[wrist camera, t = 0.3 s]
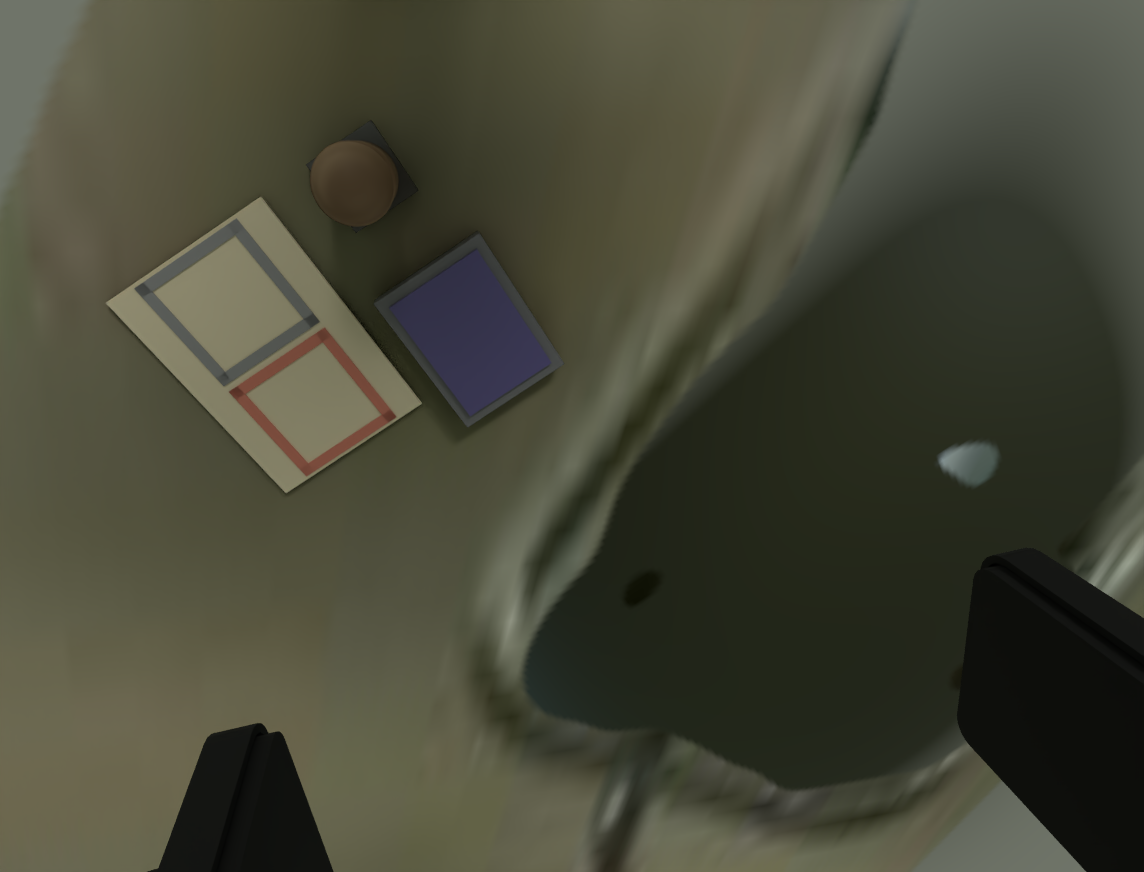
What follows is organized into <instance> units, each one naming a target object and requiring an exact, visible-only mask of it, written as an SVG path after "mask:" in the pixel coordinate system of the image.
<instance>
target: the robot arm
mask: <svg viewBox="0 0 1144 872" xmlns="http://www.w3.org/2000/svg"><path fill="white" fill-rule="evenodd" d="M957 720H958V725H959V728H960V730H961V733H962V735H963V736H964V738H965V740H966V741H967V743H968V744H969V745H970V746H971V747H972V748H973V749H974V751H975V752H976V753H977V754H978V755H979V756H980V757H981V758H982V759H983V760H984V761H985V762H986V764H987V765H988V766H989V767H990V768H991V769H992V770H993V771H994V772H995V773H996V774H997V775H998V777H999V778H1000V779H1001V780H1002V781H1003V782H1004V783H1005V784H1006V785H1007V786H1008V787H1009V788H1010V789H1011V790H1012V792H1013V793H1014V794H1015V795H1016V796H1017V797H1018V798H1019V799H1020V800H1021V801H1022V802H1023V804H1024V805H1025V806H1026V807H1027V808H1028V809H1029V810H1030V811H1031V812H1032V813H1033V814H1034V816H1035V817H1036V818H1037V819H1038V820H1039V821H1040V822H1041V823H1042V824H1043V825H1044V826H1045V827H1046V829H1047V830H1049V832H1050V833H1051V834H1052V835H1053V836H1054V837H1055V838H1056V839H1057V840H1058V841H1059V843H1060V844H1061V845H1062V846H1063V847H1064V848H1065V849H1066V850H1067V851H1068V852H1069V853H1070V854H1071V856H1072V857H1073V858H1074V859H1075V860H1076V861H1077V862H1078V863H1079V864H1080V865H1081V866H1082V868H1083V869H1084V870H1085V871H1086V872H1144V618H1142V617H1141V616H1139V615H1138V614H1136V613H1135V612H1133V611H1132V610H1130V609H1129V608H1127V607H1125V606H1124V605H1122V604H1121V603H1119V602H1118V601H1116V600H1115V599H1113V598H1112V597H1110V596H1108V595H1107V594H1105V593H1104V592H1102V591H1101V590H1099V589H1098V588H1096V587H1095V586H1093V585H1091V584H1090V583H1088V582H1087V581H1085V580H1084V579H1082V578H1081V577H1079V576H1078V575H1076V574H1074V573H1073V572H1071V571H1070V570H1068V569H1067V568H1065V567H1063V566H1062V565H1060V564H1059V563H1057V562H1056V561H1054V560H1053V559H1051V558H1050V557H1048V556H1047V555H1045V554H1043V553H1042V552H1040V551H1038V550H1036V549H1034V548H1023V549H1018V550H1014V551H1010V552H1005V553H1001V554H996V555H992V556H990V557H987V558H986V559H985V560H984V561H983V563H982V566H981V569H980V570H978V571H977V572H976V573H975V576H974V579H973V587H972V595H971V604H970V612H969V621H968V629H967V637H966V646H965V654H964V662H963V671H962V679H961V687H960V696H959V704H958V712H957ZM148 872H333V869H332V866H331V864H330V861H329V858H328V855H327V853H326V850H325V847H324V845H323V842H322V839H321V836H320V834H319V831H318V828H317V825H316V823H315V820H314V817H313V815H312V812H311V809H310V806H309V804H308V801H307V798H306V796H305V793H304V790H303V787H302V785H301V782H300V779H299V776H298V774H297V771H296V768H295V766H294V763H293V760H292V757H291V755H290V752H289V749H288V746H287V744H286V741H285V739H284V736H283V734H282V733H281V732H273V733H269V734H268V732H267V730H266V728H265V726H264V725H263V724H262V723H257V724H252V725H248V726H244V727H239V728H235V729H230V730H226V731H222V732H217V733H213V734H211V735H210V736H209V737H207V739H206V741H205V743H204V746H203V748H202V751H201V754H200V756H199V759H198V762H197V765H196V767H195V770H194V773H193V776H192V778H191V781H190V784H189V786H188V789H187V792H186V795H185V797H184V800H183V803H182V805H181V808H180V811H179V814H178V816H177V819H176V822H175V825H174V827H173V830H172V833H171V835H170V838H169V841H168V844H167V846H166V849H165V852H164V855H163V857H162V860H161V863H160V865H159V868H158V869H154V870H151V871H148Z"/></svg>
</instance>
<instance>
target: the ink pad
mask: <svg viewBox="0 0 1144 872" xmlns="http://www.w3.org/2000/svg"><path fill="white" fill-rule="evenodd" d="M374 305H375V306H376V308H377V309H378V310H379V312H380V313H381V314H382V316H383V317H384V318H385V320H386V321H387V322H388V324H389V325H390V326H391V328H392V329H393V330H394V332H395V333H396V334H397V335H398V337H399V338H400V339H401V341H402V342H403V343H404V345H405V346H406V347H407V349H408V350H409V351H410V353H411V354H412V355H413V357H414V358H415V359H416V361H417V362H418V363H419V365H420V366H421V367H422V368H423V370H424V371H425V372H426V374H427V375H428V376H429V378H430V379H431V380H432V382H433V383H434V384H435V386H436V387H437V388H438V390H439V391H440V392H441V394H442V395H443V396H444V397H445V399H446V400H447V401H448V403H449V404H450V405H451V407H452V408H453V409H454V411H455V412H456V413H457V415H458V416H459V417H460V419H461V420H462V421H463V423H464V424H465V425H466V426H467V427H469V426H471V425H472V424H474V423H475V422H477V421H478V420H480V419H481V418H483V417H484V416H486V415H487V414H489V413H490V412H492V411H493V410H495V409H496V408H498V407H500V406H501V405H503V404H504V403H506V402H507V401H509V400H510V399H512V398H513V397H515V396H516V395H518V394H519V393H521V392H522V391H524V390H525V389H527V388H528V387H530V386H532V385H533V384H535V383H536V382H538V381H539V380H541V379H542V378H544V377H545V376H547V375H548V374H550V373H551V372H553V371H554V370H556V369H557V368H559V367H561V366H562V365H564V362H563V361H562V359H561V358H560V356H559V355H558V353H557V352H556V350H555V348H554V347H553V345H552V344H551V342H550V341H549V339H548V338H547V336H546V335H545V333H544V332H543V330H542V328H541V327H540V325H539V324H538V322H537V321H536V319H535V318H534V316H533V315H532V313H531V312H530V310H529V308H528V307H527V305H526V304H525V302H524V301H523V299H522V298H521V296H520V295H519V293H518V292H517V290H516V289H515V287H514V285H513V284H512V282H511V281H510V279H509V278H508V276H507V275H506V273H505V272H504V270H503V269H502V267H501V265H500V264H499V262H498V261H497V259H496V258H495V256H494V255H493V253H492V252H491V250H490V249H489V247H488V245H487V244H486V242H485V241H484V239H483V238H482V236H481V235H480V233H479V232H478V231H477V232H475V233H474V234H472V235H471V236H469V237H468V238H466V239H465V240H463V241H462V242H460V243H459V244H457V245H456V246H454V247H453V248H451V249H450V250H448V251H447V252H445V253H444V254H442V255H441V256H439V257H438V258H436V259H435V260H433V261H432V262H430V263H429V264H427V265H426V266H424V267H423V268H421V269H420V270H418V271H417V272H415V273H414V274H412V275H411V276H409V277H408V278H406V279H405V280H404V281H402V282H401V283H399V284H398V285H396V286H395V287H393V288H392V289H390V290H389V291H387V292H386V293H384V294H383V295H381V296H380V297H378V298H377V299H375V301H374Z"/></svg>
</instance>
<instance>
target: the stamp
mask: <svg viewBox="0 0 1144 872" xmlns="http://www.w3.org/2000/svg"><path fill="white" fill-rule="evenodd" d="M306 166H307V167H308V168H309V170H310V171H311V173H310V185H311V190H312V194H313V196H314V199H315V201H316V203H317V204H318V206H319V207H320V208H321V209H322V211H323V212H324V213H325V214H326V215H327V216H329V217H330V218H331V219H333V220H335V221H336V222H339V223H341V224H344V225H347V226H351V227H352V228H353V230H354V231H355V233H357V232H358V231H360V230H361V229H363V228H364V227H366V226H367V225H369V224H372V223H374V222H376V221H378V220H379V219H380V218H382V217H383V216H384V215H385V214H386V212H388V211H389V210H391V209H392V208H394V207H395V206H397V205H398V204H400V203H401V202H402V201H404V200H405V199H407V198H408V197H410V196H411V195H413V194H414V193H416V192H417V191H418V189H417V187H416V186H415V184H414V183H413V181H412V180H411V178H410V177H409V175H408V174H407V172H406V171H405V169H404V168H403V166H402V165H401V163H400V162H399V160H398V159H397V157H396V156H395V155H394V153H393V152H392V150H391V149H390V147H389V146H388V144H387V143H386V141H385V140H384V138H383V137H382V135H381V134H380V132H379V131H378V129H377V128H376V126H375V125H374V123H373V122H372V121H371V120H370V121H369V122H367V123H366V124H364V125H363V126H361V127H360V128H358V129H357V130H356V131H354V132H353V133H351V134H350V135H348V136H347V137H345V138H344V139H342V140H341V141H339V142H336V143H333V144H331V145H329V146H327V147H326V148H325V149H323V150H322V151H321V152H320V153H319V154H318V156H317V157H316V158H315V159H313V160H312V161H310V162H309V163H307V164H306Z"/></svg>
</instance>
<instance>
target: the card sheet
mask: <svg viewBox="0 0 1144 872" xmlns="http://www.w3.org/2000/svg"><path fill="white" fill-rule="evenodd" d="M106 304H107V305H108V306H109V307H110V308H111V309H112V310H113V311H114V312H115V313H116V314H117V315H118V316H119V318H120V319H121V320H122V321H123V322H124V323H125V324H126V325H127V326H128V327H129V328H130V329H131V330H132V331H133V332H134V333H135V334H136V335H137V337H138V338H139V339H140V340H141V341H142V342H143V343H144V344H145V345H146V346H147V347H148V348H149V349H150V350H151V351H152V352H153V353H154V355H155V356H156V357H157V358H158V359H159V360H160V361H161V362H162V363H163V364H164V365H165V366H166V367H167V368H168V369H169V370H170V371H171V372H172V374H173V375H174V376H175V377H176V378H177V379H178V380H179V381H180V382H181V383H182V384H183V385H184V386H185V387H186V388H187V389H188V390H189V391H190V393H191V394H192V395H193V396H194V397H195V398H196V399H197V400H198V401H199V402H200V403H201V404H202V405H203V406H204V407H205V408H206V409H207V410H208V412H209V413H210V414H211V415H212V416H213V417H214V418H215V419H216V420H217V421H218V422H219V423H220V424H221V425H222V426H223V427H224V428H225V430H226V431H227V432H228V433H229V434H230V435H231V436H232V437H233V438H234V439H235V440H236V441H237V442H238V443H239V444H240V445H241V446H242V447H243V449H244V450H245V451H246V452H247V453H248V454H249V455H250V456H251V457H252V458H253V459H254V460H255V461H256V462H257V463H258V464H259V465H260V466H261V468H262V469H263V470H264V471H265V472H266V473H267V474H268V475H269V476H270V477H271V478H272V479H273V480H274V481H275V482H276V483H277V484H278V485H279V487H280V488H281V489H282V490H283V491H284V492H285V493H287V492H289V491H290V490H292V489H293V488H295V487H296V486H298V485H300V484H301V483H303V482H304V481H306V480H307V479H309V478H310V477H312V476H313V475H315V474H316V473H318V472H319V471H321V470H322V469H324V468H325V467H327V466H328V465H330V464H331V463H333V462H334V461H336V460H337V459H339V458H340V457H342V456H343V455H345V454H347V453H348V452H350V451H351V450H353V449H354V448H356V447H357V446H359V445H360V444H362V443H363V442H365V441H366V440H368V439H369V438H371V437H372V436H374V435H375V434H377V433H378V432H380V431H381V430H383V429H384V428H386V427H387V426H389V425H390V424H392V423H393V422H395V421H397V420H398V419H400V418H401V417H403V416H404V415H406V414H407V413H409V412H410V411H412V410H413V409H415V408H416V407H418V406H419V405H421V404H422V402H421V401H420V400H419V398H418V397H417V396H416V394H415V393H414V392H413V391H412V389H411V388H410V387H409V385H408V384H407V383H406V382H405V380H404V379H403V378H402V376H401V375H400V374H399V373H398V371H397V370H396V369H395V367H394V366H393V365H392V364H391V362H390V361H389V360H388V358H387V357H386V356H385V355H384V353H383V352H382V351H381V349H380V348H379V347H378V346H377V344H376V343H375V342H374V340H373V339H372V338H371V337H370V335H369V334H368V333H367V331H366V330H365V329H364V328H363V326H362V325H361V324H360V322H359V321H358V320H357V319H356V317H355V316H354V315H353V313H352V312H351V311H350V310H349V308H348V307H347V306H346V304H345V303H344V302H343V301H342V299H341V298H340V297H339V295H338V294H337V293H336V292H335V290H334V289H333V288H332V286H331V285H330V284H329V283H328V281H327V280H326V279H325V277H324V276H323V275H322V274H321V272H320V271H319V270H318V268H317V267H316V266H315V265H314V263H313V262H312V261H311V259H310V258H309V257H308V256H307V254H306V253H305V252H304V251H303V249H302V248H301V247H300V245H299V244H298V243H297V242H296V240H295V239H294V238H293V236H292V235H291V234H290V233H289V231H288V230H287V229H286V227H285V226H284V225H283V224H282V222H281V221H280V220H279V218H278V217H277V216H276V215H275V213H274V212H273V211H272V209H271V208H270V207H269V206H268V204H267V203H266V202H265V200H264V199H263V198H262V197H259V198H258V199H256V200H255V201H254V202H252V203H251V204H249V205H248V206H246V207H245V208H243V209H242V210H240V211H239V212H238V213H236V214H235V215H233V216H232V217H230V218H229V219H227V220H226V221H224V222H223V223H222V224H220V225H219V226H217V227H216V228H214V229H213V230H211V231H210V232H208V233H207V234H205V235H204V236H203V237H201V238H200V239H198V240H197V241H195V242H194V243H192V244H191V245H189V246H188V247H187V248H185V249H184V250H182V251H181V252H179V253H178V254H176V255H175V256H173V257H172V258H170V259H169V260H168V261H166V262H165V263H163V264H162V265H160V266H159V267H157V268H156V269H154V270H153V271H152V272H150V273H149V274H147V275H146V276H144V277H143V278H141V279H140V280H138V281H137V282H135V283H134V284H133V285H131V286H130V287H128V288H127V289H125V290H124V291H122V292H121V293H119V294H118V295H117V296H115V297H114V298H112V299H111V300H109V301H108V302H106Z"/></svg>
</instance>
